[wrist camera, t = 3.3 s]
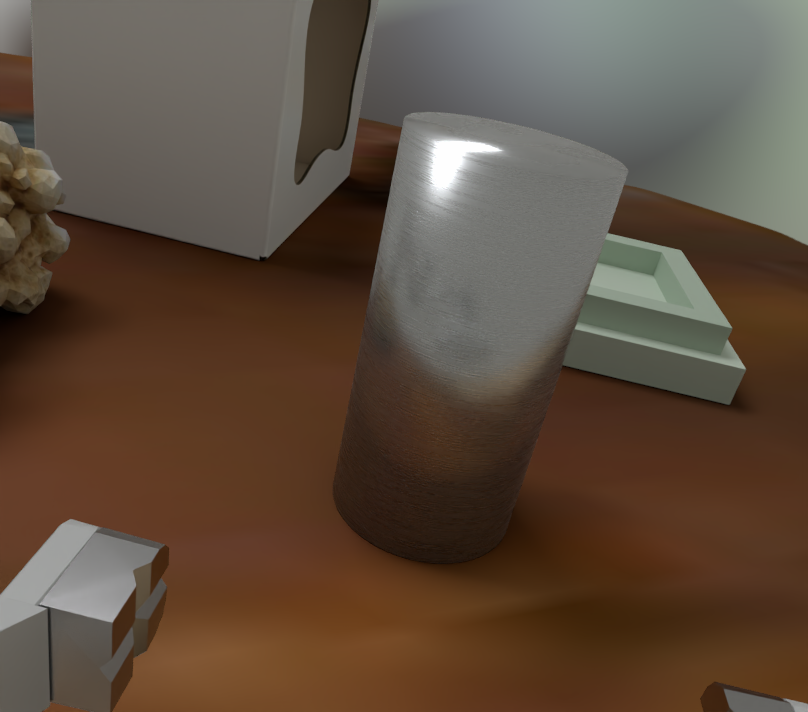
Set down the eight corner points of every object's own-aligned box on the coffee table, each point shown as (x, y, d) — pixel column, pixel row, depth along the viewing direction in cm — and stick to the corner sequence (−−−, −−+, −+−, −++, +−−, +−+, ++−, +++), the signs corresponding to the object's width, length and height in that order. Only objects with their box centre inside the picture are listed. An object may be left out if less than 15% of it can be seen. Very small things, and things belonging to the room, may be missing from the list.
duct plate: (449, 338, 37) (466, 272, 35) (465, 250, 49) (477, 198, 48) (729, 405, 36) (759, 341, 35) (673, 299, 49) (693, 249, 47)
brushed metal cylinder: (313, 535, 22) (388, 136, 17) (351, 431, 28) (417, 102, 22) (507, 583, 22) (645, 196, 17) (508, 469, 28) (613, 147, 22)
